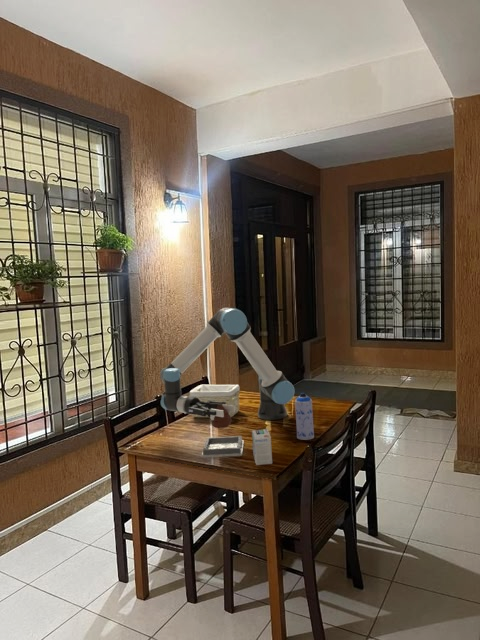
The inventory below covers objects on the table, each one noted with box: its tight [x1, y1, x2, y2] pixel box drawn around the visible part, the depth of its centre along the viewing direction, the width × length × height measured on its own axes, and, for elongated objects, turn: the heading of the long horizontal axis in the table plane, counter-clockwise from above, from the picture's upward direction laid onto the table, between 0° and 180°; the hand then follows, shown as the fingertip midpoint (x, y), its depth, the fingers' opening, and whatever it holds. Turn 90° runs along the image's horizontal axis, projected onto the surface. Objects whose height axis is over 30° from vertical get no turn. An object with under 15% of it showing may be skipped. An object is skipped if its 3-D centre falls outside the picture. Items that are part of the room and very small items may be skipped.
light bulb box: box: [251, 428, 273, 466], centre depth 194 cm, size 11×7×11 cm, turn 5°
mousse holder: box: [200, 435, 245, 459], centre depth 209 cm, size 17×16×3 cm
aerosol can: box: [294, 392, 315, 441], centre depth 217 cm, size 8×8×20 cm
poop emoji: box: [209, 404, 232, 429], centre depth 207 cm, size 10×8×9 cm
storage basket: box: [189, 384, 241, 418], centre depth 262 cm, size 24×16×15 cm
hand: (228, 411), depth 204 cm, fingers closed on poop emoji, 7 cm apart
